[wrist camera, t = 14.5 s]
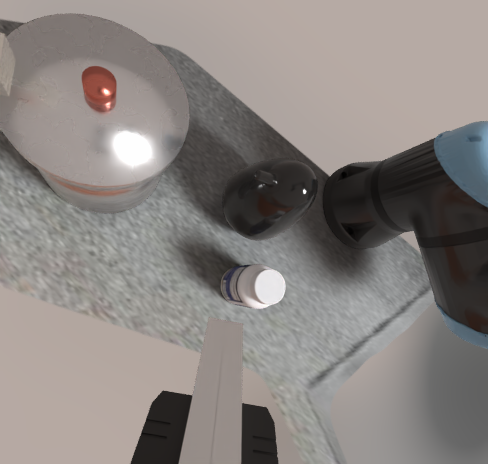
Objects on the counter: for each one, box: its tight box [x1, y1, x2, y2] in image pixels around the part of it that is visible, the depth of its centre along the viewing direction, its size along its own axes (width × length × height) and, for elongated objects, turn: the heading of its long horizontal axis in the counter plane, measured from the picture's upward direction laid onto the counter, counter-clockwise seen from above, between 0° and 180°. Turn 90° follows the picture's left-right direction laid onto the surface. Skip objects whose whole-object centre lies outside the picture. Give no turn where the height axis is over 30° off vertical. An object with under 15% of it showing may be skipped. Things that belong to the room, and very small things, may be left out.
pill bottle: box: [221, 264, 285, 309], centre depth 37 cm, size 5×5×10 cm
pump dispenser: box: [222, 158, 318, 241], centre depth 37 cm, size 10×10×15 cm
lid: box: [0, 14, 190, 191], centre depth 22 cm, size 28×15×4 cm, turn 89°
